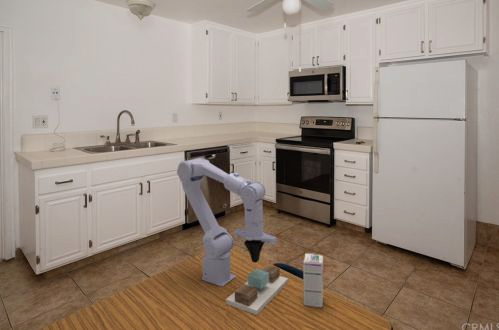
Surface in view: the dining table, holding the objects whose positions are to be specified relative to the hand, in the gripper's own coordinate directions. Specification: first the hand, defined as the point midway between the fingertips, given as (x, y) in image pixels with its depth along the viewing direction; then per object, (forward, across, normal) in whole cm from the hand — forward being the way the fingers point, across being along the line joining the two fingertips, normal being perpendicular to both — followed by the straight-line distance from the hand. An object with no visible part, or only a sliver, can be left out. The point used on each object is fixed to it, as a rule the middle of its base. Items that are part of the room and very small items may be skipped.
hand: (255, 261), depth 104 cm
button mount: (+10, +1, 0) cm, 10 cm away
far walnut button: (+9, +1, +7) cm, 11 cm away
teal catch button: (+7, +1, -1) cm, 7 cm away
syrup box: (+11, +18, +4) cm, 22 cm away
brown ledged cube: (+9, +1, -8) cm, 12 cm away
